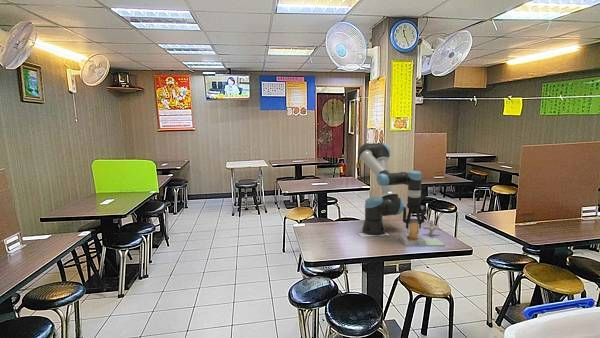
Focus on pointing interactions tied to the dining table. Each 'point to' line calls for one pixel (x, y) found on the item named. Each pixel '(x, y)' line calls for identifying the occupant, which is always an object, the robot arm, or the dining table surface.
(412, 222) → the orange tall cylinder
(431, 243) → the mat
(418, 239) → the housing
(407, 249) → the dining table surface
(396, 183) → the robot arm
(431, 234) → the pipe connector
